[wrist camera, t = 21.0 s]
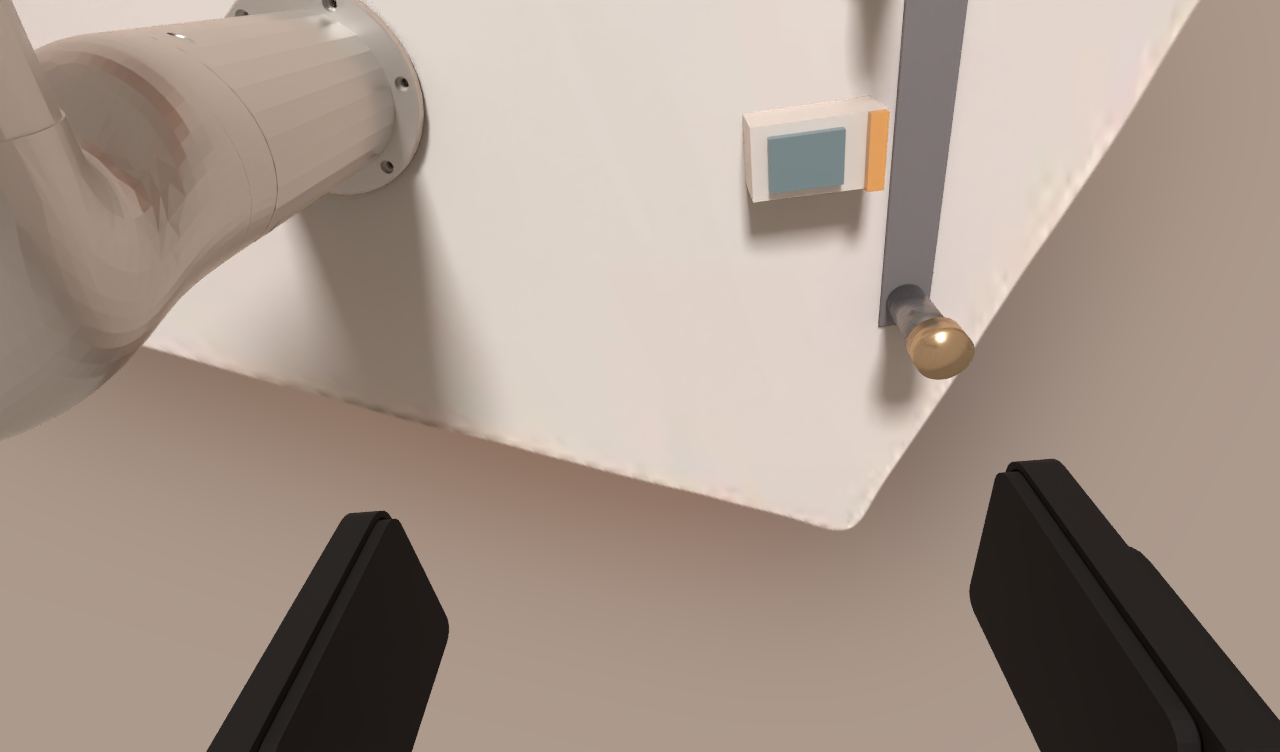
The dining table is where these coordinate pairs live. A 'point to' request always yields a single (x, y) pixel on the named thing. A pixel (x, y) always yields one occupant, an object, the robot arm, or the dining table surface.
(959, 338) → the knob
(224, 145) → the robot arm
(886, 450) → the dining table surface
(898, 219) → the strip
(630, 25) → the dining table surface
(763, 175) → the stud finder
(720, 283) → the dining table surface
